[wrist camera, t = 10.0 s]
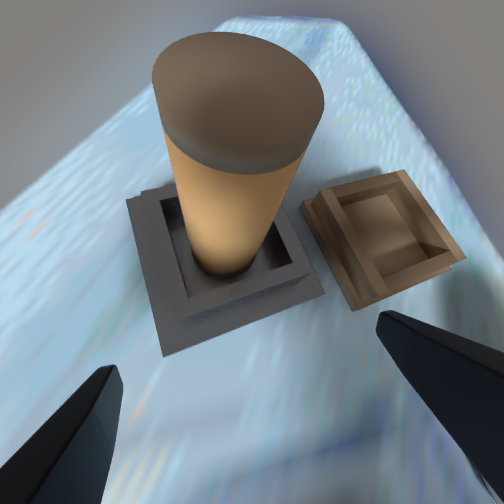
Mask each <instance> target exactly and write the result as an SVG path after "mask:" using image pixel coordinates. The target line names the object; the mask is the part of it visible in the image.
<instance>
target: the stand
mask: <svg viewBox="0 0 504 504" xmlns="http://www.w3.org/2000/svg"><path fill="white" fill-rule="evenodd" d="M300 209H301V211H302V213H303V215H304V217H305V219H306V221H307V223H308V225H309V227H310V229H311V231H312V233H313V235H314V237H315V239H316V241H317V243H318V245H319V247H320V249H321V251H322V253H323V255H324V257H325V259H326V261H327V263H328V265H329V267H330V269H331V271H332V273H333V275H334V277H335V278H336V280H337V282H338V284H339V286H340V288H341V290H342V292H343V294H344V296H345V298H346V300H347V302H348V304H349V306H350V308H351V310H352V311H356V310H360V309H362V308H364V307H366V306H369V305H371V304H373V303H376V302H378V301H380V300H383V299H385V298H387V297H389V296H392V295H394V294H396V293H399V292H401V291H403V290H405V289H408V288H410V287H412V286H415V285H417V284H419V283H422V282H424V281H426V280H428V279H431V278H433V277H435V276H438V275H440V274H442V273H444V272H447V271H449V270H451V268H450V265H452V264H454V263H457V262H459V261H461V260H464V259H466V258H467V257H466V256H465V254H464V253H463V252H462V250H461V249H460V247H459V246H458V245H457V243H456V242H455V240H454V239H453V237H452V236H451V235H450V233H449V232H448V230H447V229H446V228H445V226H444V225H443V223H442V222H441V221H440V219H439V218H438V216H437V215H436V214H435V212H434V211H433V209H432V208H431V207H430V205H429V204H428V202H427V201H426V199H425V198H424V197H423V195H422V194H421V192H420V191H419V190H418V188H417V187H416V185H415V184H414V183H413V181H412V180H411V178H410V177H409V176H408V174H407V173H406V171H405V170H404V169H403V170H399V171H395V172H391V173H387V174H383V175H379V176H375V177H371V178H368V179H364V180H360V181H356V182H352V183H348V184H344V185H340V186H336V187H332V188H328V189H324V190H320V191H319V193H318V194H317V196H316V197H315V198H313V199H309V200H305V201H303V202H302V204H301V206H300Z"/></svg>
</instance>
